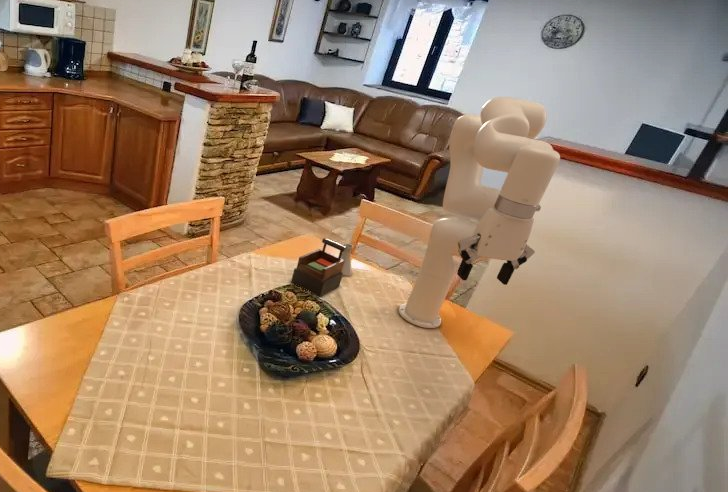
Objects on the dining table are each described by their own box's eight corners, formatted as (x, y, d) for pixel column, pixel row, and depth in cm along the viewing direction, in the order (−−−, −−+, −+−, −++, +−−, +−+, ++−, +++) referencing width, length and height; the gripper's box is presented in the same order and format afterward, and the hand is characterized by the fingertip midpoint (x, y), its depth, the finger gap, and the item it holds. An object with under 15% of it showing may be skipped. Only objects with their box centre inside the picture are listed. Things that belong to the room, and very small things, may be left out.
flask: (350, 268, 176) (358, 243, 172) (352, 278, 170) (360, 251, 165) (329, 265, 176) (337, 239, 172) (331, 274, 170) (339, 247, 165)
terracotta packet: (320, 262, 163) (321, 258, 162) (332, 268, 160) (334, 263, 159) (314, 264, 160) (315, 260, 159) (327, 270, 158) (328, 266, 157)
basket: (316, 260, 166) (323, 236, 162) (341, 271, 161) (349, 247, 157) (296, 269, 157) (302, 244, 153) (322, 282, 152) (329, 256, 148)
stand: (310, 273, 168) (314, 259, 166) (339, 286, 162) (343, 273, 160) (290, 282, 160) (294, 268, 157) (319, 297, 154) (323, 283, 152)
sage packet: (312, 266, 159) (313, 261, 158) (325, 272, 157) (326, 267, 156) (306, 268, 157) (307, 264, 156) (319, 274, 154) (320, 270, 153)
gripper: (541, 205, 107) (507, 275, 116) (467, 196, 105) (438, 267, 113) (564, 219, 101) (526, 291, 109) (485, 209, 98) (453, 284, 107)
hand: (481, 279), depth 111 cm, fingers open, 9 cm apart
